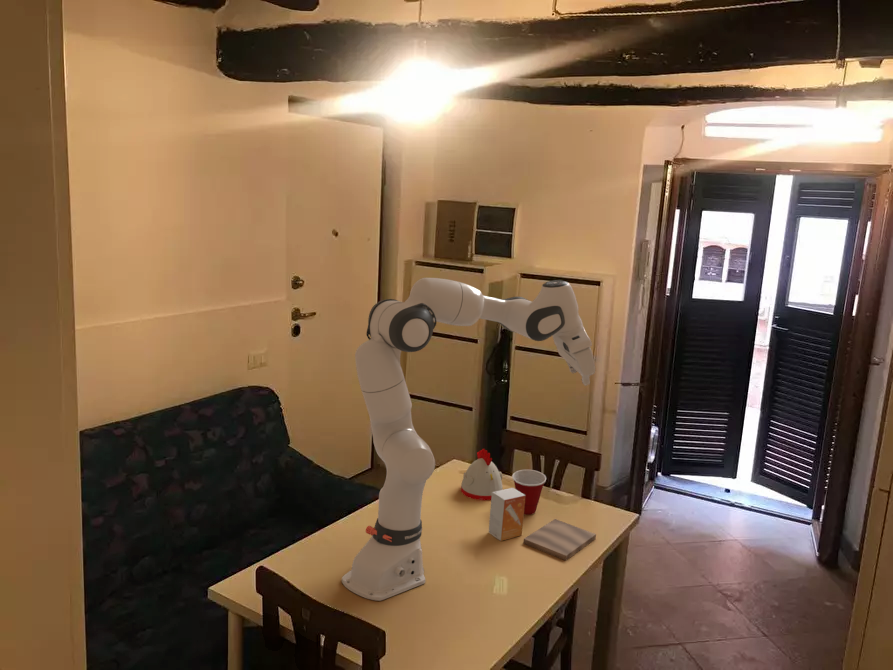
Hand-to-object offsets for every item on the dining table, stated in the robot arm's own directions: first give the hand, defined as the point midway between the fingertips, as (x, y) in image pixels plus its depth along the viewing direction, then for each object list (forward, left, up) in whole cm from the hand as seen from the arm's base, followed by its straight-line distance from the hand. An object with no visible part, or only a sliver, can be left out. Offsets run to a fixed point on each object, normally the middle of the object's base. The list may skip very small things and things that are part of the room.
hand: (580, 377), depth 207 cm
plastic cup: (+7, +18, -49) cm, 53 cm away
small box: (-11, +14, -49) cm, 52 cm away
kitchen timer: (+9, +37, -49) cm, 63 cm away
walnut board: (-3, 0, -49) cm, 49 cm away
